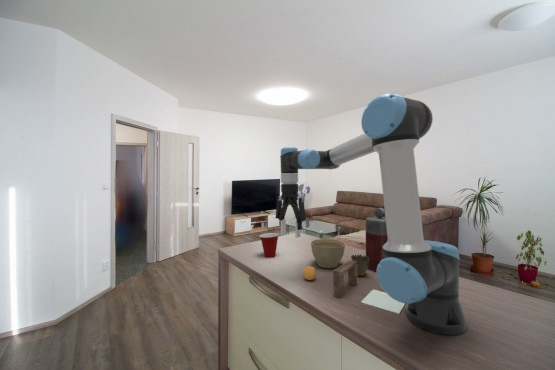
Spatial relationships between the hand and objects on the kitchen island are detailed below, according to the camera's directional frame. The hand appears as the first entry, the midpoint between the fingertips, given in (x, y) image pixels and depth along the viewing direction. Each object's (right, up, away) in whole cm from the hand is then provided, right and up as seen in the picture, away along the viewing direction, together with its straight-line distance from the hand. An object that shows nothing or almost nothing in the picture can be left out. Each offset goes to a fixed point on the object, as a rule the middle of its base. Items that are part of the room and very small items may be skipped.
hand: (290, 235), depth 111 cm
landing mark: (+31, -17, -24) cm, 43 cm away
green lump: (+30, -17, -2) cm, 34 cm away
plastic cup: (-10, -17, +27) cm, 33 cm away
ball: (+8, -14, -5) cm, 17 cm away
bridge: (+20, -17, -15) cm, 31 cm away
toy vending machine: (+42, -16, +5) cm, 45 cm away
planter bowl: (+19, -17, +11) cm, 28 cm away
